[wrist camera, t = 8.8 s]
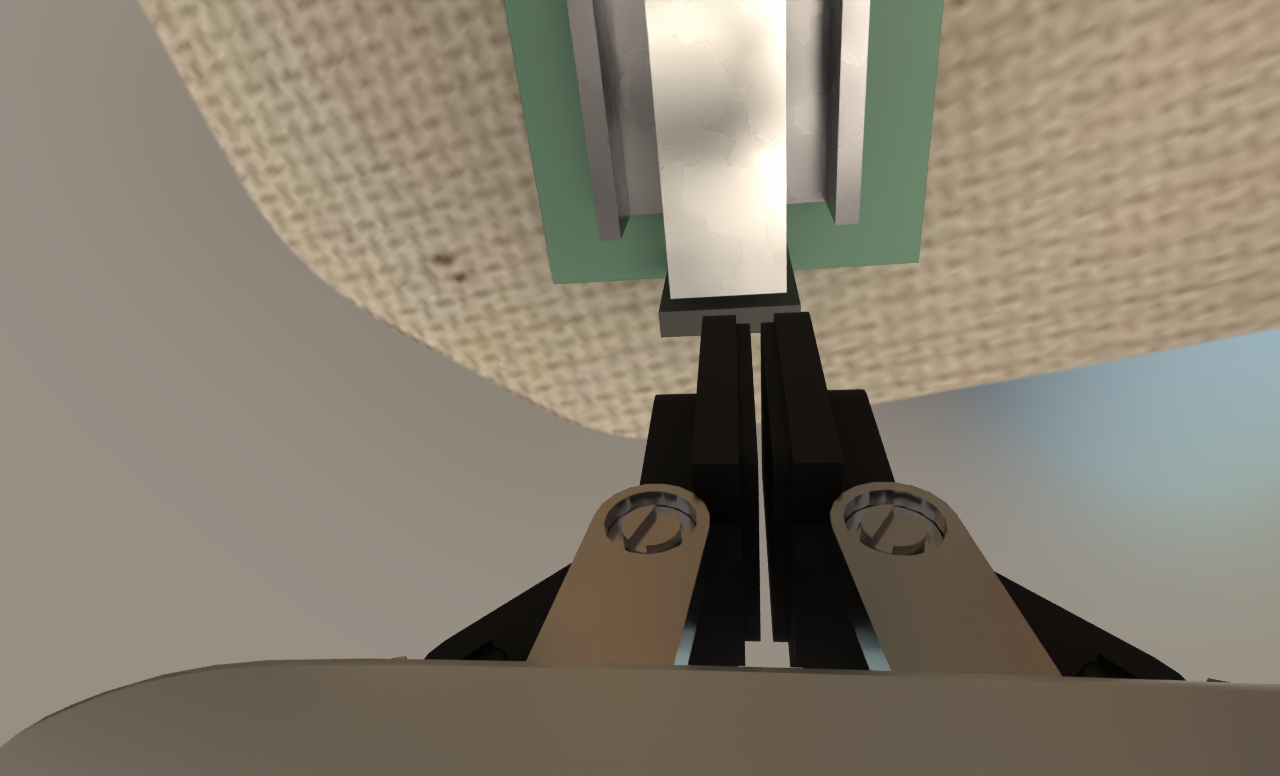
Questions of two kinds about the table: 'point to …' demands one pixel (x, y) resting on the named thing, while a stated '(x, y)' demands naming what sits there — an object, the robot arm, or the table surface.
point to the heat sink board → (803, 220)
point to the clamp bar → (721, 143)
